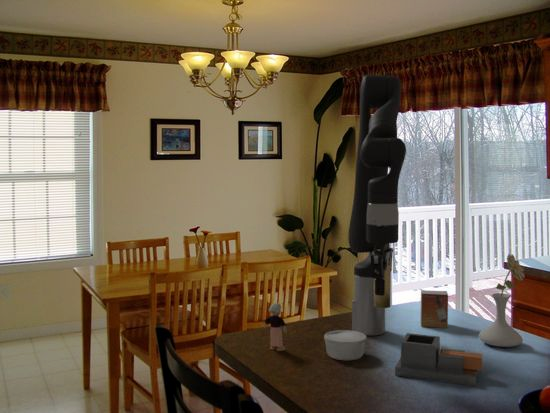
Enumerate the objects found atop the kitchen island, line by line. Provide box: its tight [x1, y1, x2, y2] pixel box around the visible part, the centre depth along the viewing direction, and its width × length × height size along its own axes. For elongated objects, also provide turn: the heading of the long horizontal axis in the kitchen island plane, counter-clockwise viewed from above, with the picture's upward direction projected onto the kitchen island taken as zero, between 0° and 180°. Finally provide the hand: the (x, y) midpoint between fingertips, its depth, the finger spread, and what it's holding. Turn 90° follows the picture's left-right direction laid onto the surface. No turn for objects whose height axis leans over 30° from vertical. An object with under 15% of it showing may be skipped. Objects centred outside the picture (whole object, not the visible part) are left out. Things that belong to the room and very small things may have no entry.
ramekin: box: [323, 329, 368, 361], centre depth 149 cm, size 11×11×5 cm
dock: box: [394, 332, 479, 387], centre depth 136 cm, size 18×12×8 cm, turn 67°
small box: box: [419, 289, 449, 329], centre depth 175 cm, size 8×6×10 cm
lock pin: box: [440, 350, 483, 372], centre depth 133 cm, size 9×3×3 cm, turn 67°
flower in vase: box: [478, 253, 526, 348], centre depth 156 cm, size 13×11×25 cm
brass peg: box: [374, 264, 392, 309], centre depth 136 cm, size 4×4×10 cm
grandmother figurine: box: [262, 302, 288, 352], centre depth 154 cm, size 8×4×13 cm, turn 65°
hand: (381, 292), depth 136 cm, fingers closed on brass peg, 4 cm apart
